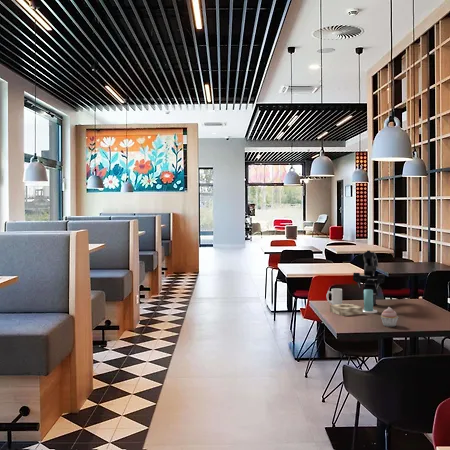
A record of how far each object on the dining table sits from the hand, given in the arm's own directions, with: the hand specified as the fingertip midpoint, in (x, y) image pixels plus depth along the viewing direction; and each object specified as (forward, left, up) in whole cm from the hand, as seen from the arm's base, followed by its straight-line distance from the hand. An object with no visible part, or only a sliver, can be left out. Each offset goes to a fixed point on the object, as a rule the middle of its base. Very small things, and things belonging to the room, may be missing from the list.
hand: (368, 288), depth 300 cm
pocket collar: (+16, 0, -14) cm, 21 cm away
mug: (+14, -17, -14) cm, 26 cm away
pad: (+2, +3, -14) cm, 14 cm away
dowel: (+2, +3, -13) cm, 13 cm away
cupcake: (+14, +39, -14) cm, 44 cm away
